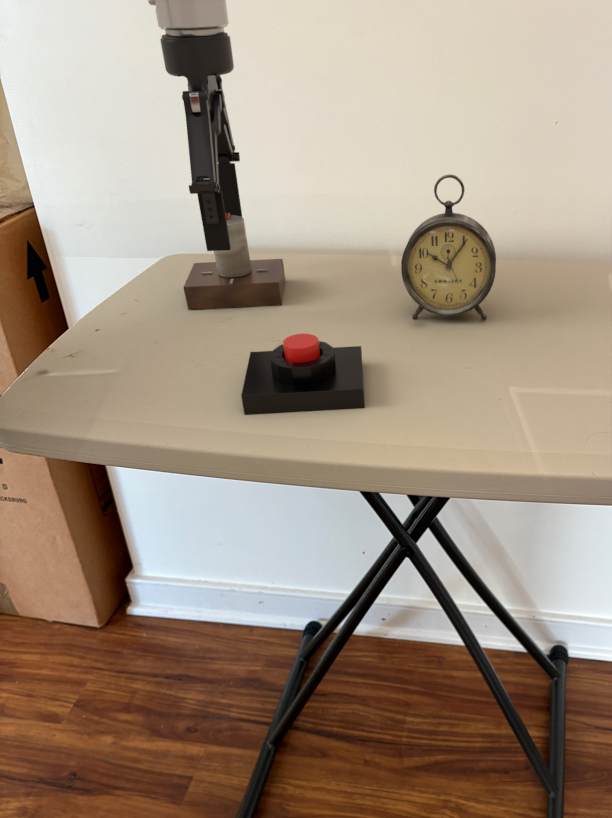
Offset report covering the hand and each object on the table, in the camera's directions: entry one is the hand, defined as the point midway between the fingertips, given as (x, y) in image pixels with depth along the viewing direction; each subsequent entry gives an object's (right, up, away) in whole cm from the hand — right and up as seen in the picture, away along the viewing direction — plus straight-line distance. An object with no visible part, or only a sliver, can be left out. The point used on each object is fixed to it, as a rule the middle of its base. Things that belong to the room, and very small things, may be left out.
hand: (225, 232), depth 96 cm
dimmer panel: (0, -6, +5) cm, 8 cm away
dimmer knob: (0, -4, +3) cm, 5 cm away
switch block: (+12, -23, -16) cm, 31 cm away
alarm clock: (+28, -12, -2) cm, 31 cm away
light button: (+12, -20, -19) cm, 30 cm away
